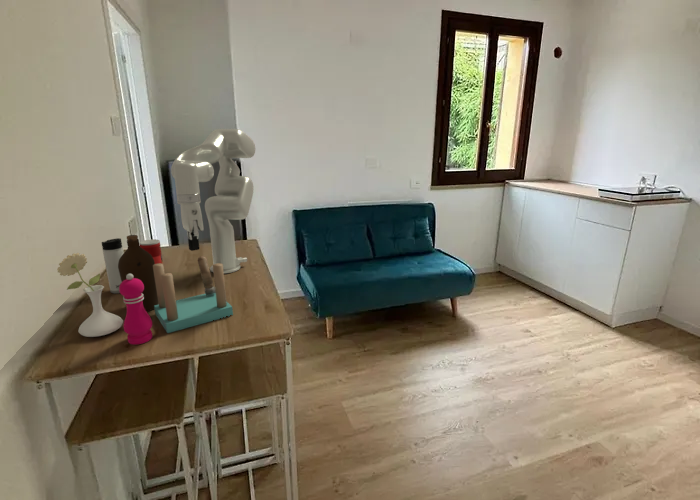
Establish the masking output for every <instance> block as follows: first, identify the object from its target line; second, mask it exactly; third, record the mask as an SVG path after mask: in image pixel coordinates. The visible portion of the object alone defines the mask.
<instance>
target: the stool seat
mask: <svg viewBox="0 0 700 500" xmlns="http://www.w3.org/2000/svg"><path fill="white" fill-rule="evenodd" d="M164 265H165V264H164V263H159V264H154V265H153V271H154V277H155V284H156V290H157V297H158V303H159V304H158V305H154V308H155V309H154V313H155V316H156V317H157V319H158V320H159V322H160V324H161V326H162V327H163V329H164V330H165V332H166V334H170V333H174V332H177V331H181V330H184V329H188V328H191V327H195V326H199V325H203V324H206V323H210V322H213V320H214V321H216V320H217V321H218V320H220V318H221V319H224V318H227V317H226V316H228V317H231V316H230V315H232V316H233V315H234V310H233V306H232V305H231V304H230V303H229V302H228V301H227V294H226V293H227V292H226V285H225V284H226V283H225V275H224V274H225V273H224V272H223V264H221V263H217V264H212V265H213V272H212V273H213V283H214V287H215V292H216V293H214V294H210V295H206V294H205V293H202V294H198V295H194V296H189V297H184V298H180V299H177V298H176V292H175V285H174V284H175V282H174V276H173V273H171V272H167V273H166V272H165V267H164ZM223 317H224V318H223Z"/></svg>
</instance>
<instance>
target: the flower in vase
mask: <svg viewBox="0 0 700 500" xmlns="http://www.w3.org/2000/svg"><path fill="white" fill-rule="evenodd" d="M87 260H88V258H87V256H86V255H85V254H84V253H82V254H80V253H79V252H77V253H75V252H74V253H72V254H69V255H67V256H66V257H64V258H63V259H62V261H61V262H59V263H58V267H57V270H56V271H57V273H59V276H60V277H61V276H63V277H66V276H74V275H75V274H78V276H79V278H80V280H81V281H79V280H76V281H74V282H72V283H70V284H69V285H68V286H67V288H66V290H75V289H78V288H80V287H81V286H82V285H83V284H85V285H86V286H87V287H84V289H83V292H84V293H86V294H87V295H88V296H89V299H90V302H91V305H92V313H91V315H90V316H88V317H87V318H86V319H85V320H84V321H83V322H82V323H81V324H80V325H79V326H78V327H79V328H78V333H79V334H80V335H81V336H83V337H88V338H94V337H101V336H105V335H109V334H111V333H113V332H116V331H117V330H118V329H120V328H121V327H122V326H123V325H124V320H123V318H122V317H120V315H117V314H114V313H112V312H109V311H107V310H105V309H104V308H103V305H102V291H103V289H104V288H105V286H104V285H102V284H97V283H98V282H99V281H100V279H101V273H98V274H96V275H95V276H93V277H92V278H89V281H88V283H86V281H85V280H84V279H83V277H82V275H81V273H80V271H82V270H83V269H84V267H86V264H87V263H88V261H87Z"/></svg>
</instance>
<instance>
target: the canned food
mask: <svg viewBox="0 0 700 500" xmlns="http://www.w3.org/2000/svg"><path fill="white" fill-rule="evenodd" d="M139 246H140V247H141V248H142V249H144V250H145V251H147V252H148V253H149V254H151V256H152V257H153V259H154V262H155V264H159V263H162V264H164V262H163V255H162V247H161V241H160V240H159V239H157V238H156V239H154V238H153V239H145V240H141V241H139Z"/></svg>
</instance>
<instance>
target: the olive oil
mask: <svg viewBox="0 0 700 500" xmlns="http://www.w3.org/2000/svg"><path fill="white" fill-rule="evenodd" d="M138 237H139V236H138V235H137V234H130V235H127V236H126V245H127V248H126V250H125V251H123V252H124V254H123V255H122V256H121V257H120V259H119V263H118V269H119V273H120V277H121V281H122V282H123V281H124V280H126V279H127V278H126V276H127V274H132V275H133V276H134V277H133V278H136V279H139V280H141V281H142V282H143V284H144V290H143V292H142V294H143V297H144V299H143V306H144V309H145V310H146V312H147V313H148V312H150V311H153V310H155V308H154V305H158V304H159V303H158V297H157V290H156V284H155V277H154V271H153V265H154V264H155V262H154V259H153V257H152V256H151V254H149V253H148V252H147V251H145V250H144V249H142V248H141V247H140V240H139V238H138Z"/></svg>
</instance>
